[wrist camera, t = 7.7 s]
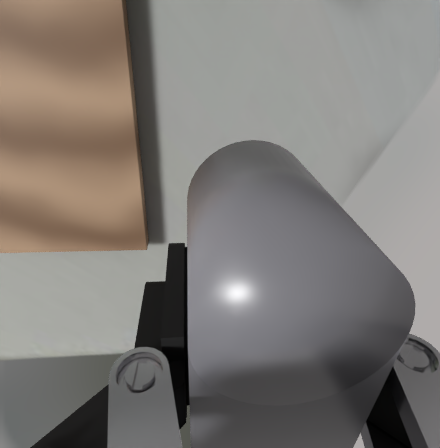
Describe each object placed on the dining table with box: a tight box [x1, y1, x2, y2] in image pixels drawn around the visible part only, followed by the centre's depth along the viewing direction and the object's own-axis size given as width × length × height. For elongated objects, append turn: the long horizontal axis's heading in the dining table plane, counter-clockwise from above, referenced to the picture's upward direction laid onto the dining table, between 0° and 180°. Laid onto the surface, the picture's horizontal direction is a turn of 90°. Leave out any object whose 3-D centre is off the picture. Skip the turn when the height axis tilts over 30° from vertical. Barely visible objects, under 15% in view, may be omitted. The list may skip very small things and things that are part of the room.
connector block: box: [187, 140, 415, 448], centre depth 10 cm, size 12×4×6 cm, turn 178°
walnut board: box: [0, 0, 149, 253], centre depth 22 cm, size 20×12×2 cm, turn 178°
